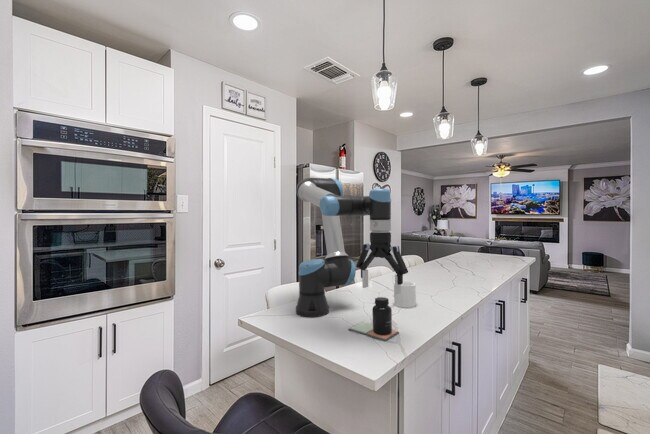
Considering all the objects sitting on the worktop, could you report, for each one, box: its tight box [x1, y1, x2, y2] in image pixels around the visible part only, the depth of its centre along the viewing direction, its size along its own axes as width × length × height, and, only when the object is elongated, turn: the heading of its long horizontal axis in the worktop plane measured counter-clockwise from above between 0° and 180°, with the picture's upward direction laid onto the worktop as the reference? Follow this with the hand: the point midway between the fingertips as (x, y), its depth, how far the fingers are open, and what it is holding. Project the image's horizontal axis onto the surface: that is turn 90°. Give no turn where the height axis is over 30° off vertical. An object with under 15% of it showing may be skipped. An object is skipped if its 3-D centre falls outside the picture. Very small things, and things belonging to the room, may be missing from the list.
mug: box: [393, 281, 417, 309], centre depth 142 cm, size 13×10×10 cm
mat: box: [347, 321, 400, 342], centre depth 108 cm, size 16×10×1 cm, turn 47°
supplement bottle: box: [371, 296, 393, 335], centre depth 106 cm, size 7×7×12 cm
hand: (380, 290), depth 106 cm, fingers open, 13 cm apart
